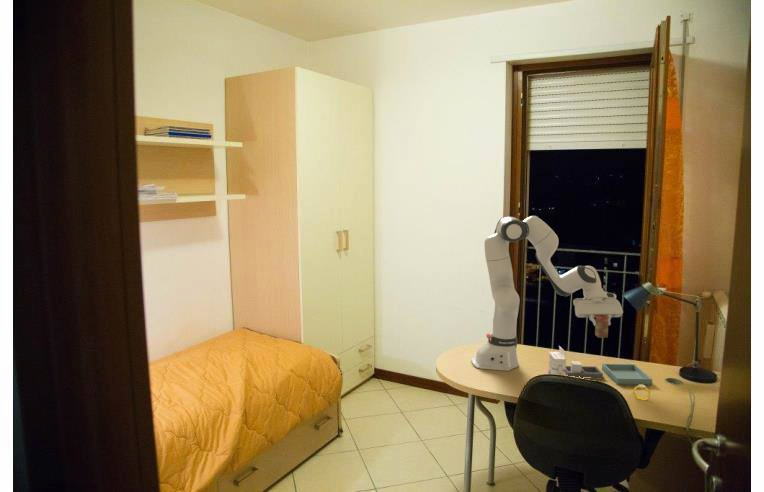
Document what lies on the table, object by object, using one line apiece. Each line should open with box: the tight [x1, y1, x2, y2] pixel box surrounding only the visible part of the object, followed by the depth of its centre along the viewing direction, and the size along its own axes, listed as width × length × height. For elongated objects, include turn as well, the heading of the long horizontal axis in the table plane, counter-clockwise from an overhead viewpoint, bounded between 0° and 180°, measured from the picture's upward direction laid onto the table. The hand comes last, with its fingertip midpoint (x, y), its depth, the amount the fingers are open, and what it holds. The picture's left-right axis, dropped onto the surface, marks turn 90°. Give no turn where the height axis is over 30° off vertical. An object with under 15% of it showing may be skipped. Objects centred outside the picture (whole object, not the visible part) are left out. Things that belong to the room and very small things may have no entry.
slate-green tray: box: [601, 363, 653, 387], centre depth 213 cm, size 15×17×3 cm
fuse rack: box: [565, 365, 604, 379], centre depth 217 cm, size 15×8×2 cm, turn 86°
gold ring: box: [632, 384, 651, 401], centre depth 193 cm, size 6×3×6 cm, turn 57°
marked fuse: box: [594, 315, 609, 339], centre depth 212 cm, size 4×4×9 cm
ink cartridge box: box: [547, 345, 567, 376], centre depth 211 cm, size 9×5×15 cm, turn 179°
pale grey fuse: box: [570, 360, 583, 373], centre depth 216 cm, size 4×4×6 cm
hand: (602, 325), depth 212 cm, fingers closed on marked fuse, 4 cm apart
